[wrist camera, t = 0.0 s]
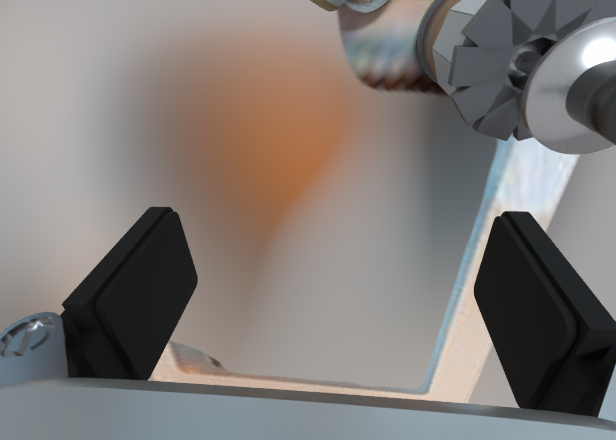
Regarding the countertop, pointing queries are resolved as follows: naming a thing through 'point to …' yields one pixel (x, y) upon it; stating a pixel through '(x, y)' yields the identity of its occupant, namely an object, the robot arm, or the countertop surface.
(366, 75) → the countertop surface
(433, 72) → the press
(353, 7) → the ceramic mug
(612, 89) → the plunger
